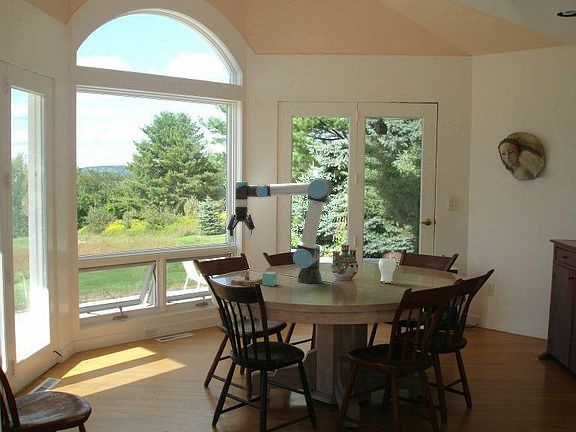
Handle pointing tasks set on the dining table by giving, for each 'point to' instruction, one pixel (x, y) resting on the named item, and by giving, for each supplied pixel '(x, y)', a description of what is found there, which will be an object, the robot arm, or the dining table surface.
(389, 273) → the cup
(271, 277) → the mint green cube
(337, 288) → the dining table surface
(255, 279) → the stand
